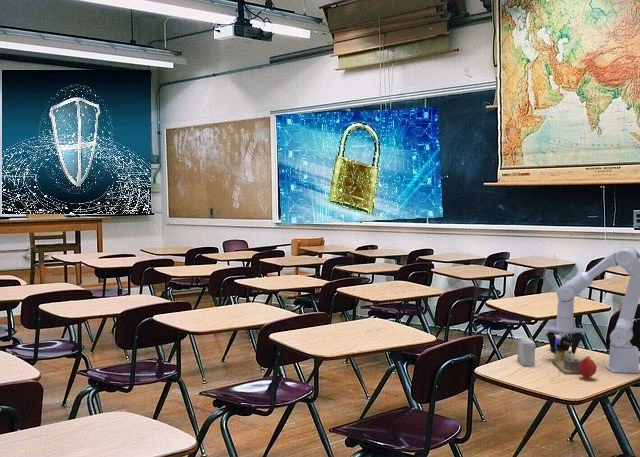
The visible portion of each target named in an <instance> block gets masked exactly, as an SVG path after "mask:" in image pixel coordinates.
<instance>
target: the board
mask: <svg viewBox="0 0 640 457" xmlns="http://www.w3.org/2000/svg"><path fill="white" fill-rule="evenodd" d="M569 352H570V350H568V351H565V358H564V361H556V360H552V361H551V364H552V365H553V366H554V367H556V368H557V369H558V370H559V371H560V372H561V373H562V374H564V375H581V374H580V373H579V371H578V365H579V363H580V361H581V360H580V359H579V358H576V356H575V355H571V358H569ZM581 376H582V375H581Z"/></svg>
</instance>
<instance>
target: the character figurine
mask: <svg viewBox="0 0 640 457" xmlns="http://www.w3.org/2000/svg"><path fill="white" fill-rule="evenodd" d="M554 334H555V336H556V340H555V352H554V353H553V354H554V355H556V351H558V350H565V351H570V348H572V338H571V337H570V336H568V335H567V334H564V336H561V335H559V334H558V333H554ZM548 344H549V345H550V343H549V342H548Z"/></svg>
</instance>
